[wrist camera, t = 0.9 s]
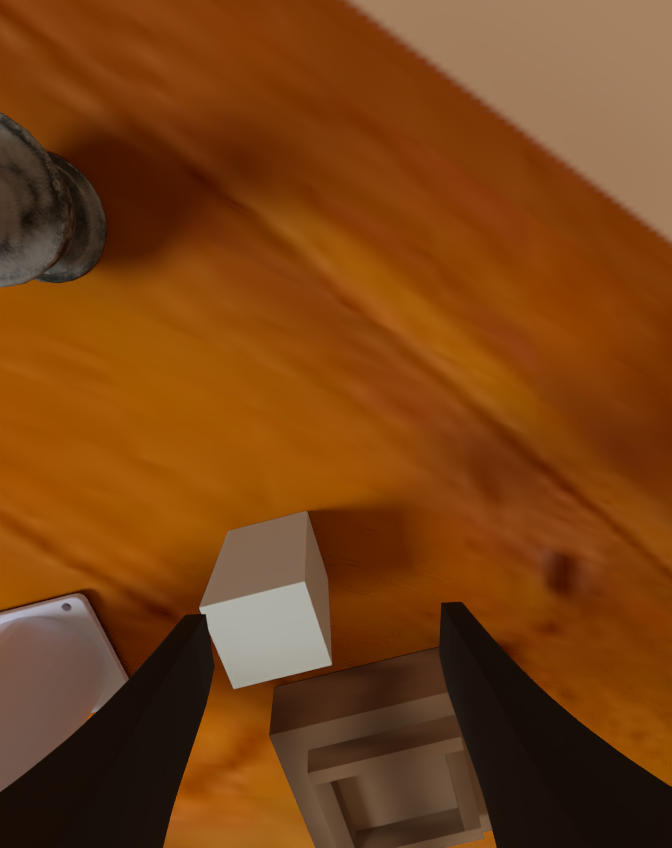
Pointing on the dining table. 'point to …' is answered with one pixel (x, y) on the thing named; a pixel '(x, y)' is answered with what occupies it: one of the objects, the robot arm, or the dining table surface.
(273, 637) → the block
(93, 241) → the salt shaker
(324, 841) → the taupe stepped square slab
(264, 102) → the dining table surface
